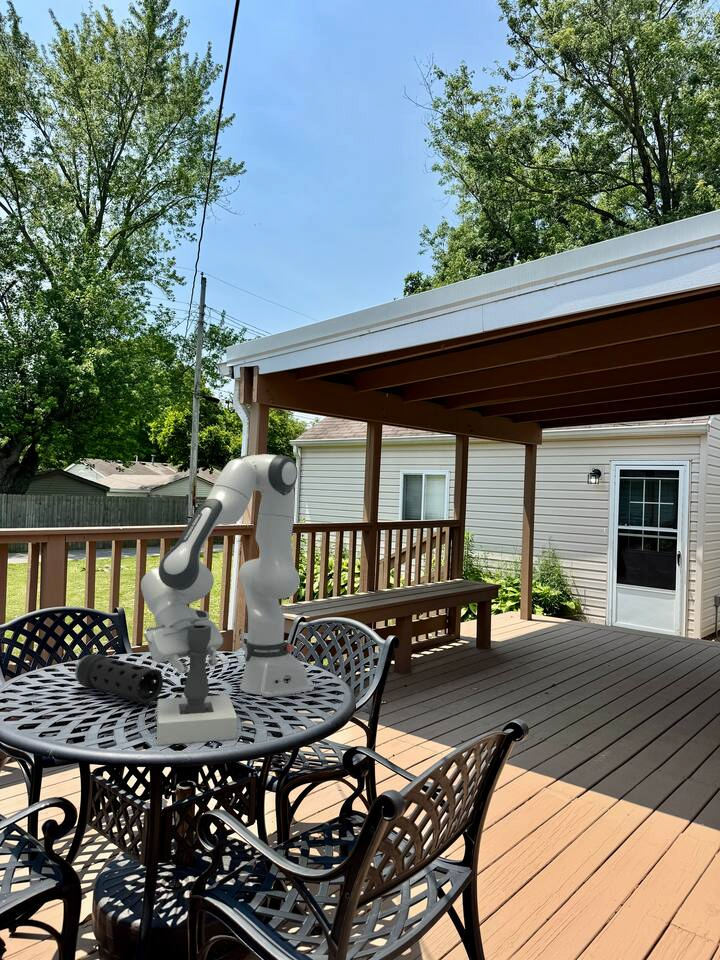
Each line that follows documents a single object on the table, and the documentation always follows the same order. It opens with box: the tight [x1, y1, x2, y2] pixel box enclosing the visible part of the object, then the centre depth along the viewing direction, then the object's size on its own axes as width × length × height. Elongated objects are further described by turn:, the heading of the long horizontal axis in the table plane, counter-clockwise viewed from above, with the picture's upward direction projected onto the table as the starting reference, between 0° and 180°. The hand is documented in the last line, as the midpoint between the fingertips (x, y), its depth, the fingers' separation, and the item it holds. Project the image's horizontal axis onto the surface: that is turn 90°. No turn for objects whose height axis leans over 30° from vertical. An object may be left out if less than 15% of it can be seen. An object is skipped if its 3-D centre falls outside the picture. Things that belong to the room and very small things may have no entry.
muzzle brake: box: [74, 653, 164, 706], centre depth 175 cm, size 10×28×10 cm, turn 58°
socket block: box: [156, 694, 238, 746], centre depth 152 cm, size 18×18×5 cm
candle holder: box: [183, 625, 211, 714], centre depth 153 cm, size 6×6×25 cm
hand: (199, 668), depth 153 cm, fingers open, 8 cm apart
